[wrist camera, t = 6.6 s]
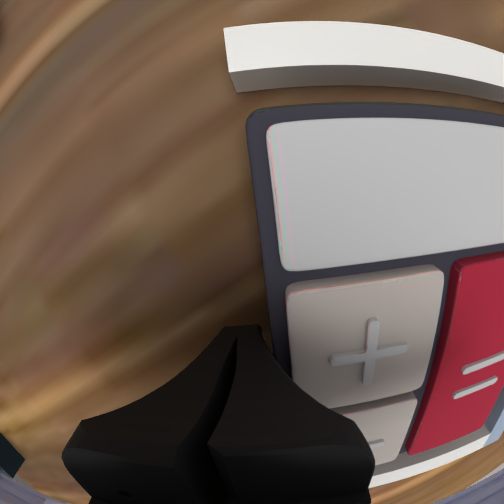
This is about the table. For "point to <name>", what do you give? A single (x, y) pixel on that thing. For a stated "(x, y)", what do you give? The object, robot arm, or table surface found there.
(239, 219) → the table surface
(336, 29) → the slot rack
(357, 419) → the calculator
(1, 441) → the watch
